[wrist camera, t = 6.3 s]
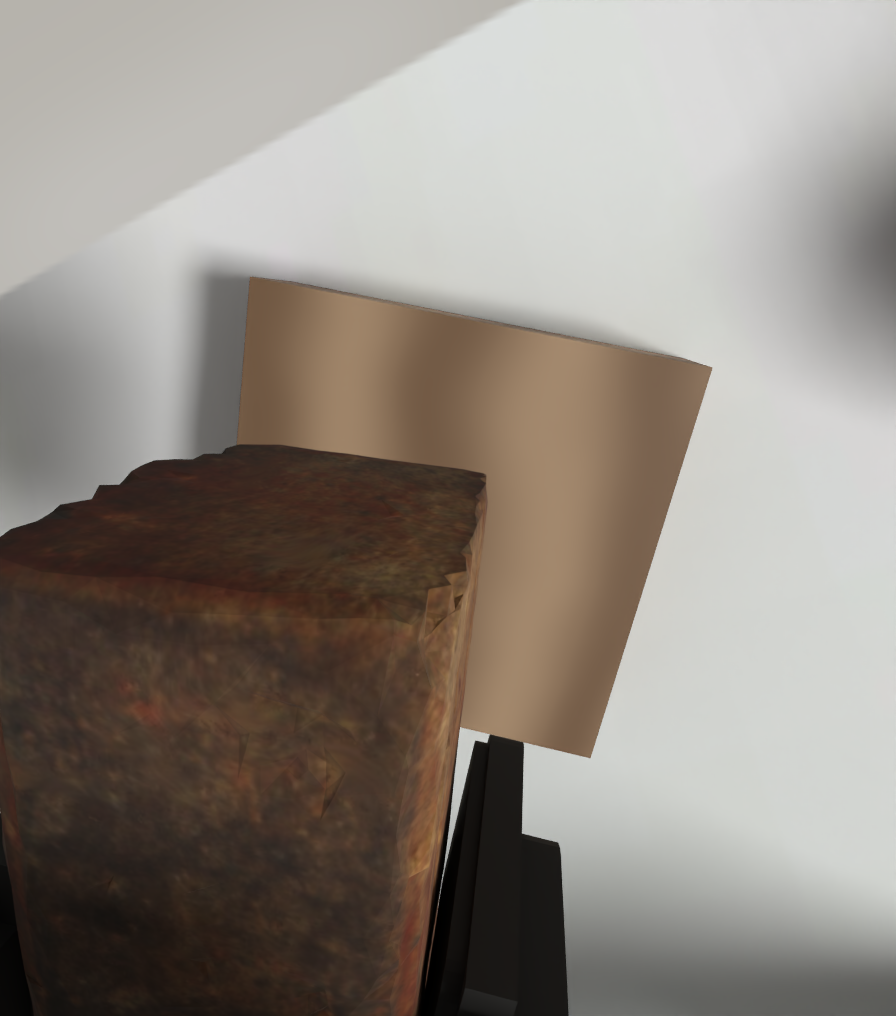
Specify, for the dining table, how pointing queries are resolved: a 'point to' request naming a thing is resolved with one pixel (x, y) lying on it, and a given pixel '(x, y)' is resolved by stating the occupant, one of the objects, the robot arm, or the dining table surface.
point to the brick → (236, 732)
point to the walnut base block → (496, 472)
